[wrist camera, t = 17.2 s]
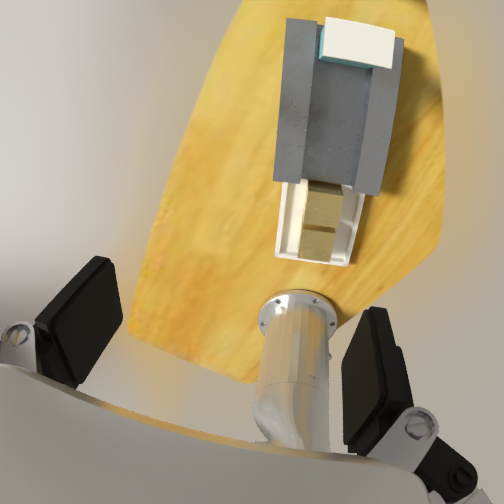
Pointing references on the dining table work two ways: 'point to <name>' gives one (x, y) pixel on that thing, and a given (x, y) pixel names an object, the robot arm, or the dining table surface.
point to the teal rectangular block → (356, 44)
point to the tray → (293, 215)
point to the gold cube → (323, 203)
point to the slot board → (333, 115)
